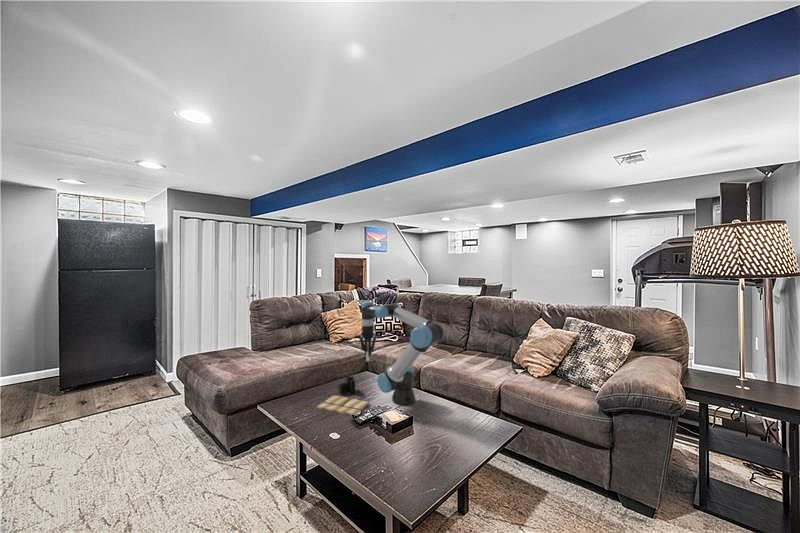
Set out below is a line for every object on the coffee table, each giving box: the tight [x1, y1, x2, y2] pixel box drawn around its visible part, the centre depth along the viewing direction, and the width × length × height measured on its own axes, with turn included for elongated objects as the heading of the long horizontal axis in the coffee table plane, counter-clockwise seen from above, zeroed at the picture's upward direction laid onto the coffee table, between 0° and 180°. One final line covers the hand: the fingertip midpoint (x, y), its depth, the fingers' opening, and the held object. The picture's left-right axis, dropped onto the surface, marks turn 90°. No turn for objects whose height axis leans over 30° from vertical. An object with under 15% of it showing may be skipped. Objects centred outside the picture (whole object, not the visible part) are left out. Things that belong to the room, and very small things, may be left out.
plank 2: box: [343, 398, 370, 411], centre depth 209 cm, size 13×10×1 cm
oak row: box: [316, 401, 363, 417], centre depth 203 cm, size 28×6×2 cm, turn 68°
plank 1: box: [323, 394, 351, 406], centre depth 214 cm, size 13×10×1 cm
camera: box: [337, 375, 356, 395], centre depth 232 cm, size 14×11×10 cm
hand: (368, 360), depth 221 cm, fingers closed
